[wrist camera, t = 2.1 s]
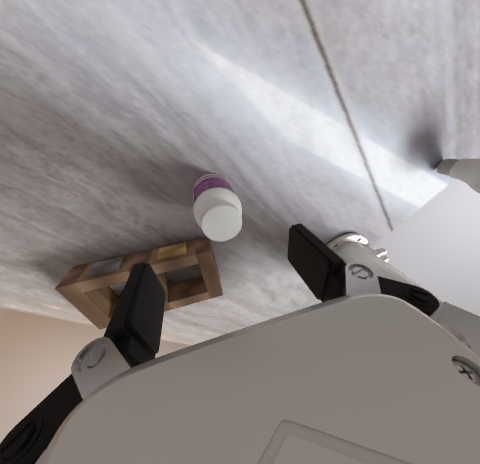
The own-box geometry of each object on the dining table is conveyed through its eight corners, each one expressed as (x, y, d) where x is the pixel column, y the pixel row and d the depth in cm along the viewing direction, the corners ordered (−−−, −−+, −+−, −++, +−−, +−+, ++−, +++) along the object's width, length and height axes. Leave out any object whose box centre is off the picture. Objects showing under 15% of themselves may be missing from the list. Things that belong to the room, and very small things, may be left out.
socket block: (208, 234, 27) (210, 248, 24) (219, 278, 33) (222, 295, 30) (71, 265, 24) (52, 286, 21) (109, 307, 30) (99, 329, 27)
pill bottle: (184, 188, 23) (179, 221, 15) (215, 164, 22) (229, 184, 14) (209, 216, 26) (216, 256, 18) (237, 196, 25) (258, 227, 17)
